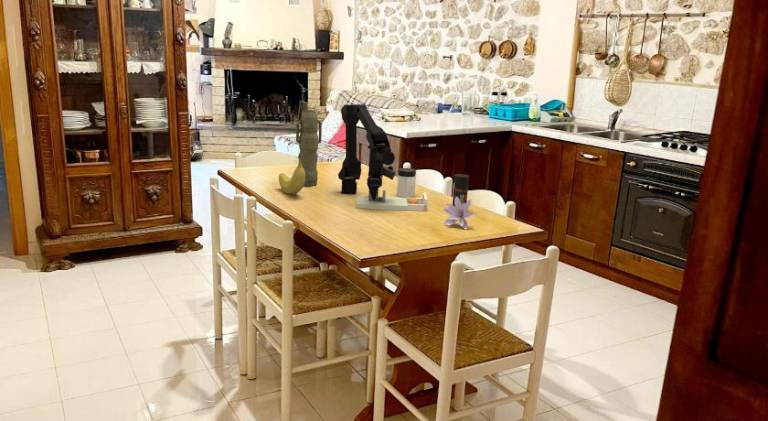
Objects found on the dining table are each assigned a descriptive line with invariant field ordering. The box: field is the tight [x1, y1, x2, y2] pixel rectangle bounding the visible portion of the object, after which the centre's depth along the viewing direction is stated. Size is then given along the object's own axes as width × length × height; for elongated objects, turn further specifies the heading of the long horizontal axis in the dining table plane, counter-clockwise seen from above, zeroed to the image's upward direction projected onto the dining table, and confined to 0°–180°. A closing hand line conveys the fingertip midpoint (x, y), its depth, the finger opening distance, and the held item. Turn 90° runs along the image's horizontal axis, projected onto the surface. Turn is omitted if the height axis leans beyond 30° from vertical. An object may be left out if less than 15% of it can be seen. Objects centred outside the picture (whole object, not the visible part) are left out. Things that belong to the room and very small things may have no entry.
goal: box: [407, 192, 429, 212], centre depth 261 cm, size 8×12×5 cm
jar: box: [396, 167, 417, 198], centre depth 279 cm, size 9×8×12 cm
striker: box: [368, 187, 387, 202], centre depth 260 cm, size 7×7×6 cm
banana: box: [278, 152, 305, 195], centre depth 270 cm, size 23×6×20 cm, turn 32°
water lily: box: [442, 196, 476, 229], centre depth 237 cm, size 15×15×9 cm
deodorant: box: [451, 173, 470, 207], centre depth 257 cm, size 6×6×15 cm
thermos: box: [295, 109, 323, 188], centre depth 286 cm, size 9×12×35 cm
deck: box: [356, 195, 408, 212], centre depth 261 cm, size 21×14×2 cm, turn 90°
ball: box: [409, 197, 418, 204], centre depth 261 cm, size 4×4×4 cm
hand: (374, 197), depth 260 cm, fingers open, 9 cm apart
